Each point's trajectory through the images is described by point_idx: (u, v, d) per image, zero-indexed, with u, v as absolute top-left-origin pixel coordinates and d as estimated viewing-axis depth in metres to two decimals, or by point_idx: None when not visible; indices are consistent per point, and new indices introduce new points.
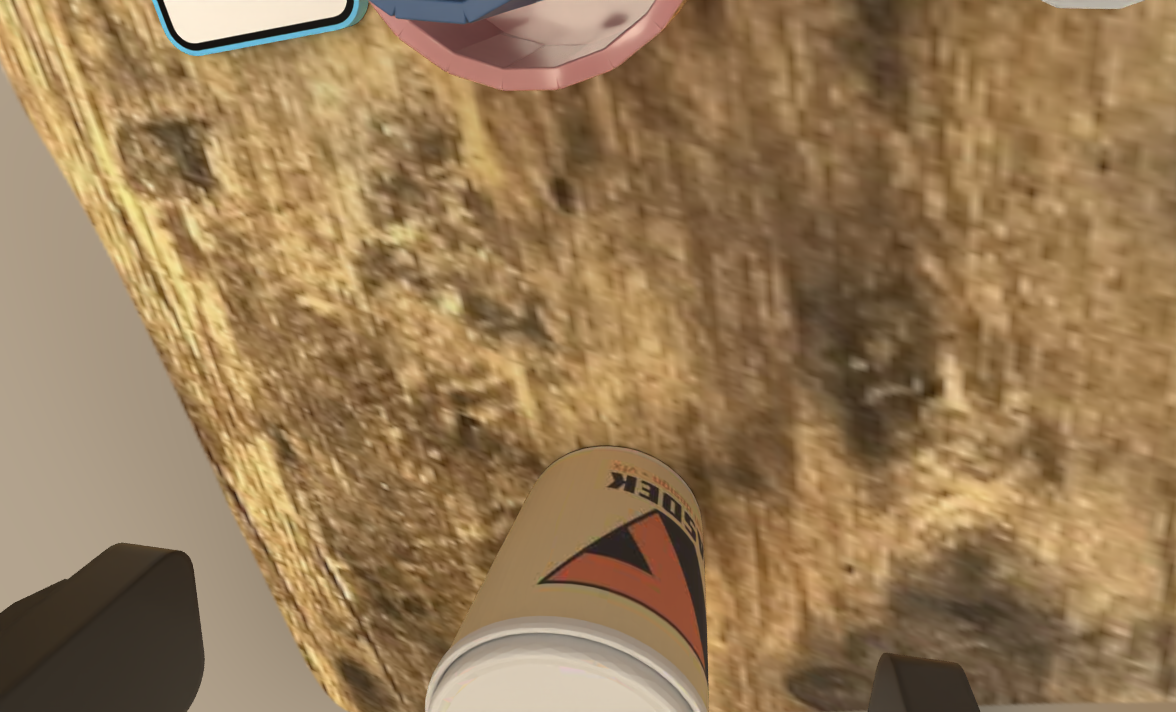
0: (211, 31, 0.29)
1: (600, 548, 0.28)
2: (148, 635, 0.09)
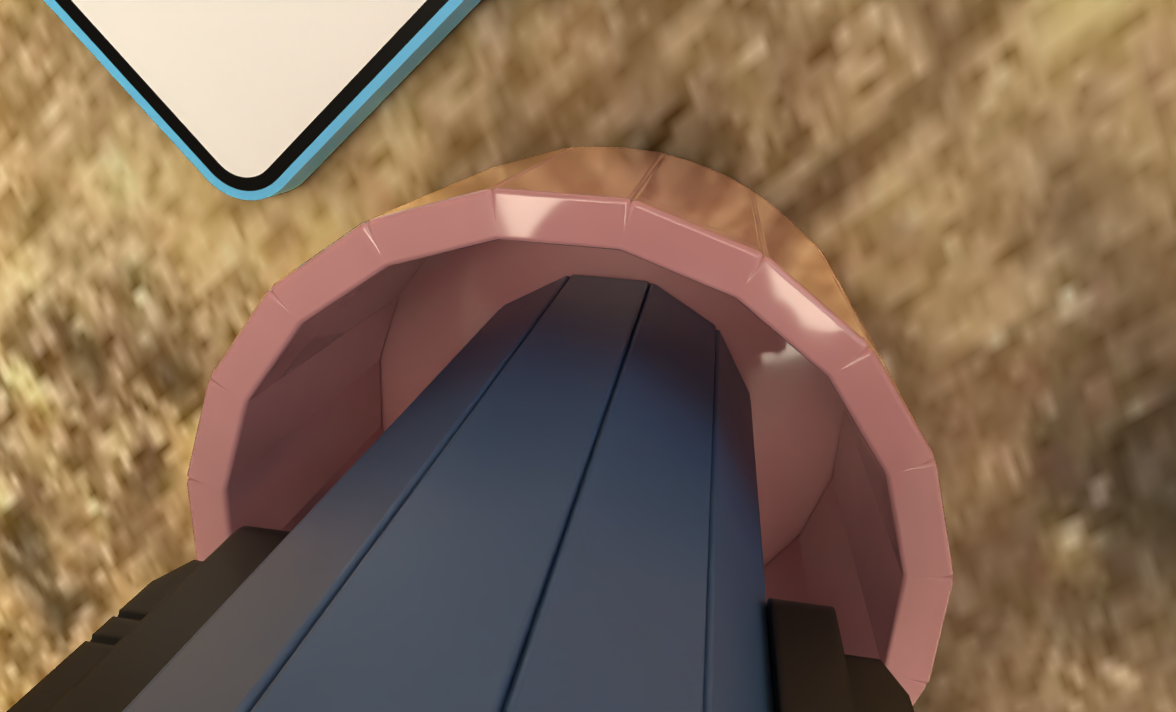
0: None
1: None
2: None
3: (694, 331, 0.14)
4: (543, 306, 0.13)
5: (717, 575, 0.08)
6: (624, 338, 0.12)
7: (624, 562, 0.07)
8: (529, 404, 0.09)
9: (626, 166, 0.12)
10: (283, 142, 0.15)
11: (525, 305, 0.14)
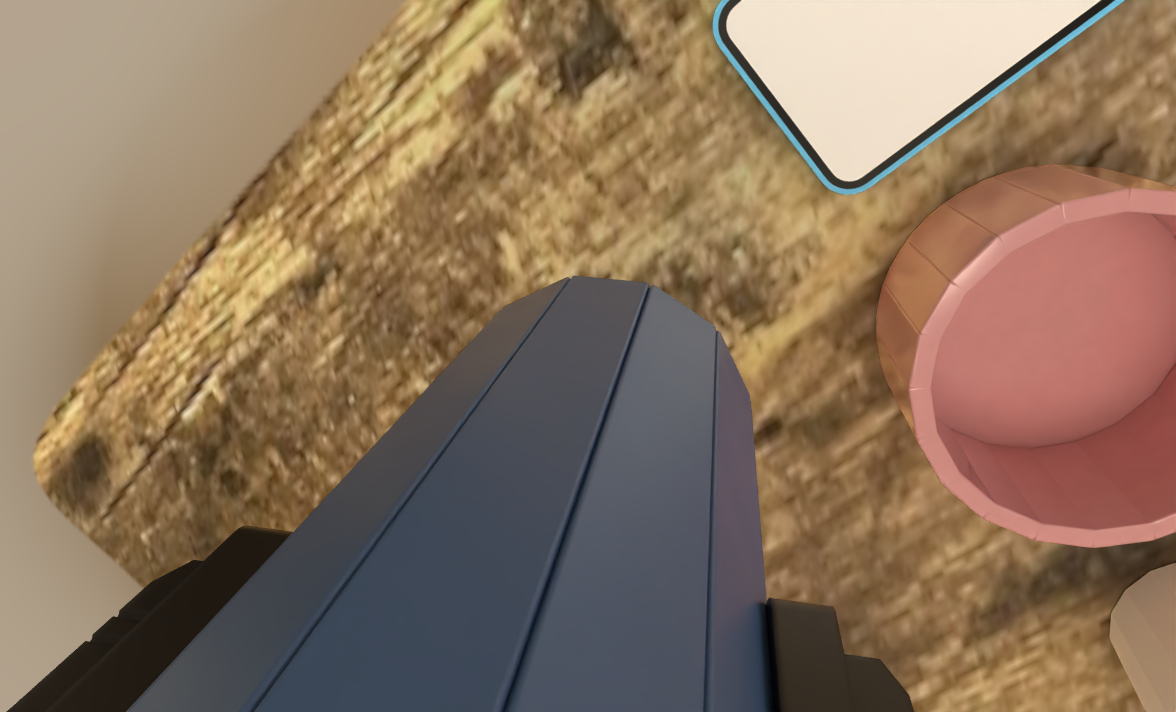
0: (751, 51, 0.26)
1: None
2: None
3: (694, 333, 0.14)
4: (543, 308, 0.13)
5: (718, 578, 0.08)
6: (624, 340, 0.12)
7: (625, 565, 0.07)
8: (530, 406, 0.09)
9: (1127, 176, 0.23)
10: (877, 161, 0.26)
11: (525, 306, 0.14)
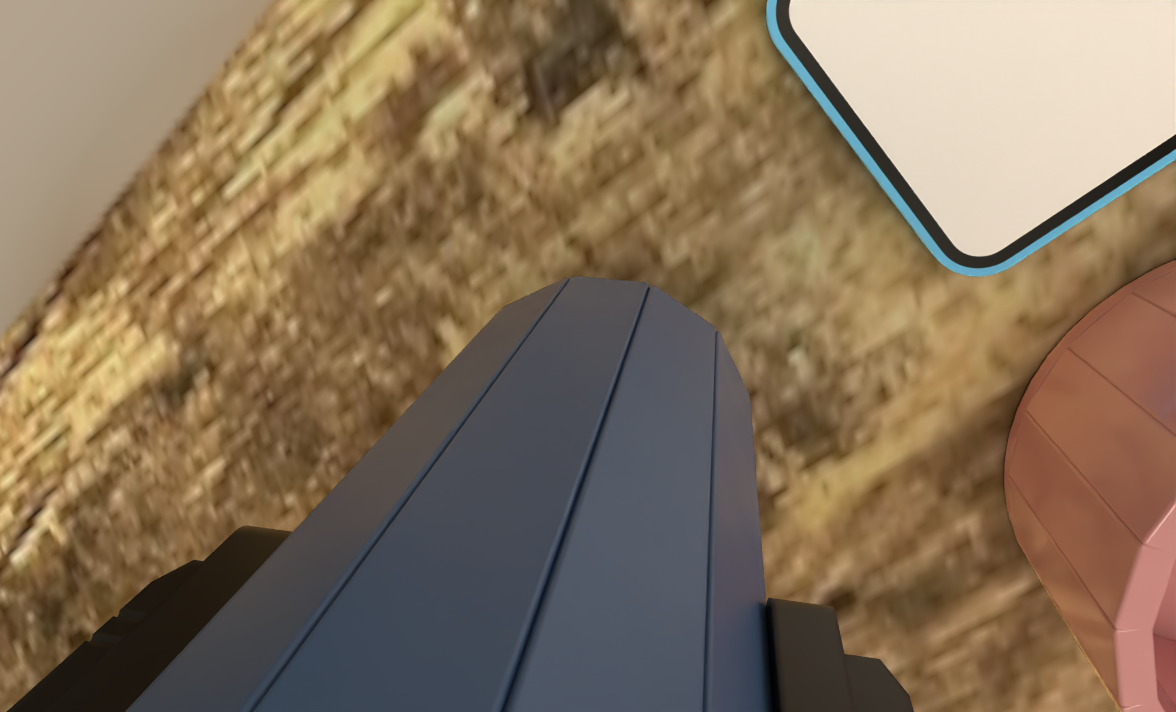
0: (829, 52, 0.16)
1: None
2: None
3: (693, 333, 0.14)
4: (543, 308, 0.13)
5: (717, 578, 0.08)
6: (624, 340, 0.12)
7: (624, 565, 0.07)
8: (529, 406, 0.09)
9: None
10: (1026, 226, 0.17)
11: (525, 307, 0.14)
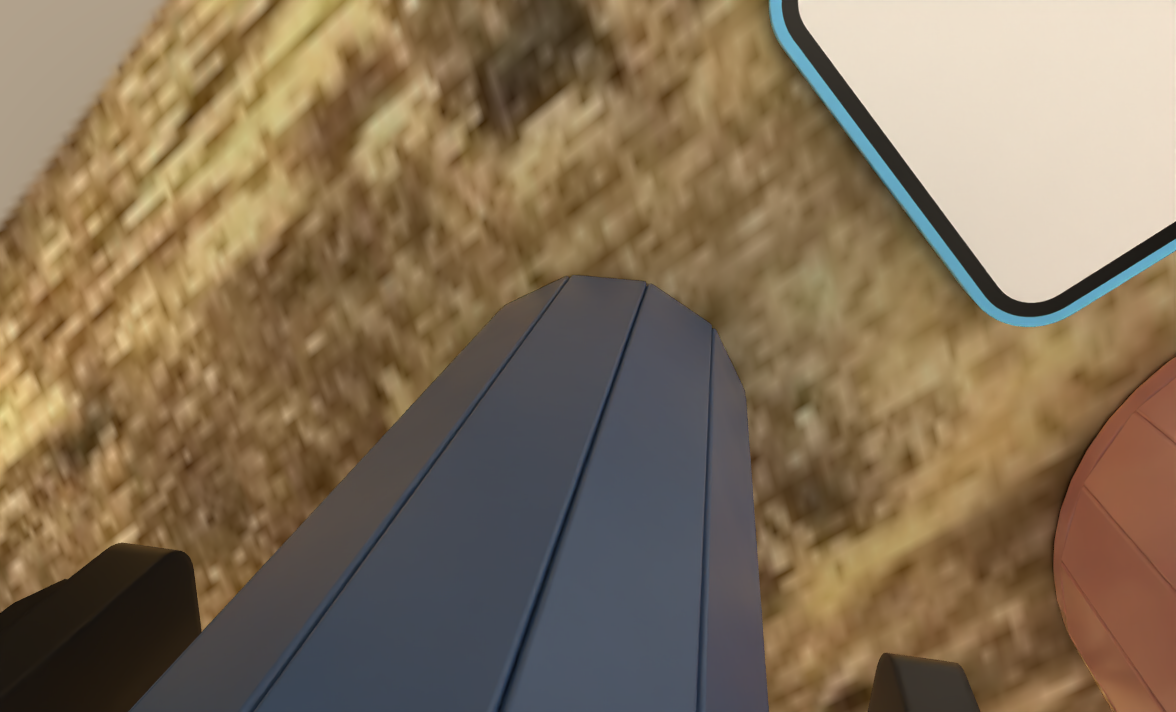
0: (847, 52, 0.13)
1: None
2: (149, 635, 0.09)
3: (690, 330, 0.14)
4: (544, 306, 0.14)
5: (712, 561, 0.08)
6: (622, 336, 0.12)
7: (623, 547, 0.07)
8: (531, 399, 0.10)
9: None
10: (1090, 266, 0.13)
11: (526, 305, 0.15)
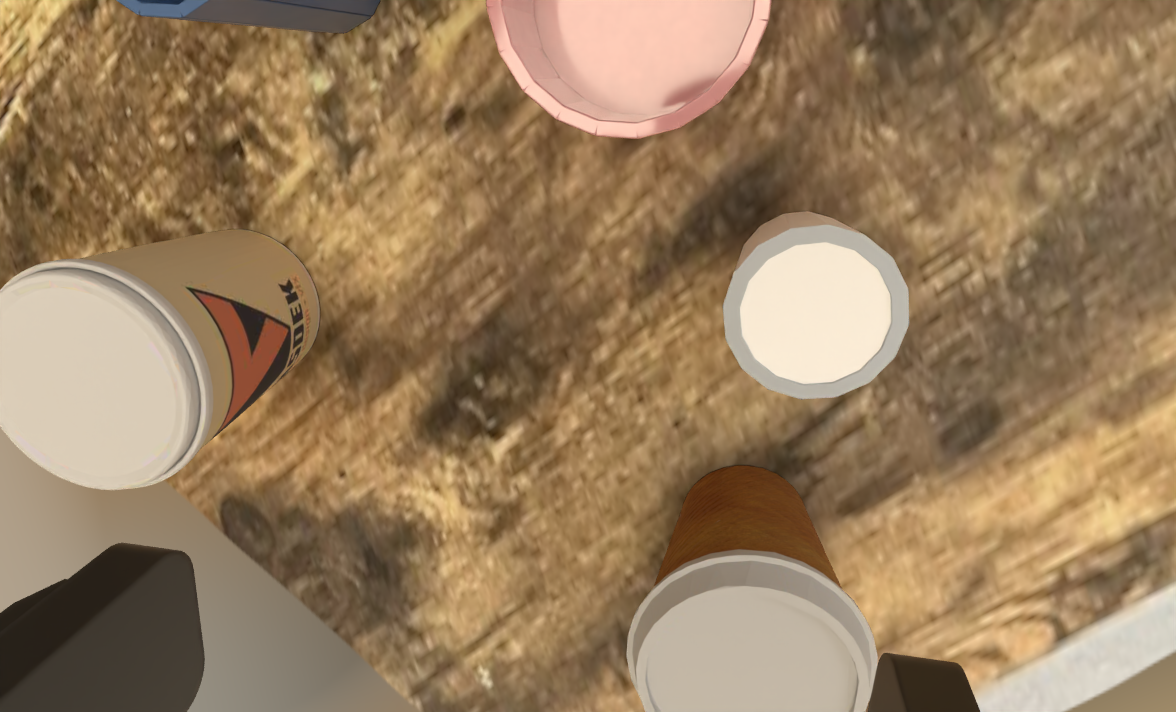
0: None
1: (240, 310, 0.34)
2: (149, 635, 0.09)
3: None
4: None
5: None
6: None
7: None
8: None
9: None
10: None
11: None
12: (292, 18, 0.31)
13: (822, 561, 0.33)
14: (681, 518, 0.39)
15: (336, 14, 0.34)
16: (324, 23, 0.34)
